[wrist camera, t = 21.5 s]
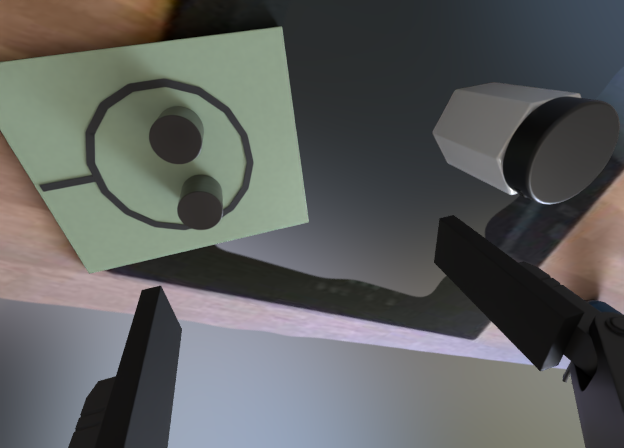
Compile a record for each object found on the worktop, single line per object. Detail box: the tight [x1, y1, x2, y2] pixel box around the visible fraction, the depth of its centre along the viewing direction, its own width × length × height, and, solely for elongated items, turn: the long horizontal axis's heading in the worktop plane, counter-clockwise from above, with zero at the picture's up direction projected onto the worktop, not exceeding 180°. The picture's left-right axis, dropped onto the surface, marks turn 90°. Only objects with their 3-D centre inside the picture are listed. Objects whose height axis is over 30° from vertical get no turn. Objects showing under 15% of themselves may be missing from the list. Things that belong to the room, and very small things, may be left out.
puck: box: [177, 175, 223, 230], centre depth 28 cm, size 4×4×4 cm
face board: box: [0, 27, 309, 274], centre depth 28 cm, size 22×18×1 cm
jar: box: [432, 82, 620, 204], centre depth 29 cm, size 9×8×12 cm
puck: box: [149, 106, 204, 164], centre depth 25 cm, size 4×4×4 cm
